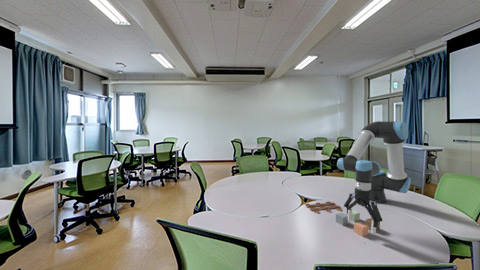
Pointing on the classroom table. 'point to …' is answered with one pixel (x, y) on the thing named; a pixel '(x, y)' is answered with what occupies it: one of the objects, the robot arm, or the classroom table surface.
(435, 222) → the classroom table surface
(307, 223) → the classroom table surface
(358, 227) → the terracotta block
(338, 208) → the decorative fence
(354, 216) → the sage block
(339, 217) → the slate block
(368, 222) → the walnut block
